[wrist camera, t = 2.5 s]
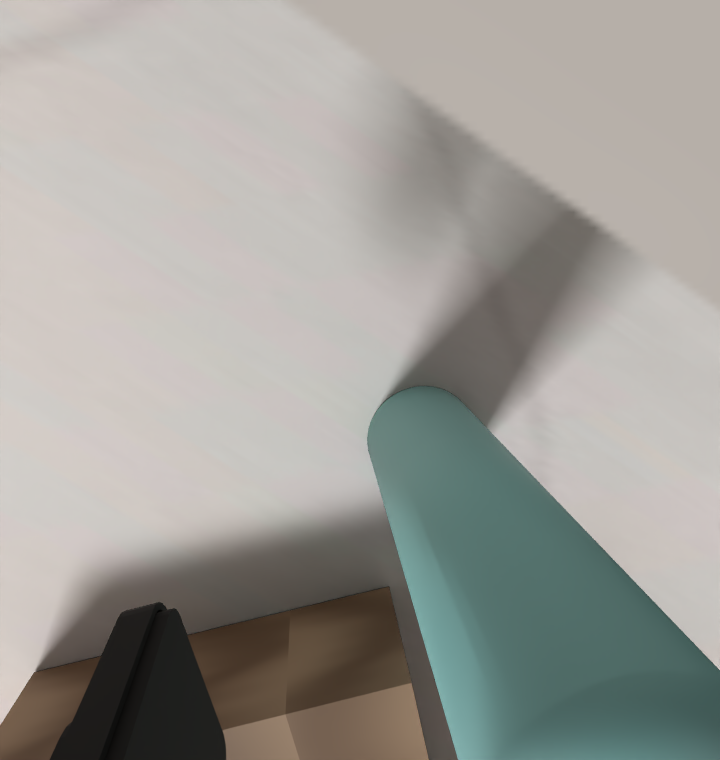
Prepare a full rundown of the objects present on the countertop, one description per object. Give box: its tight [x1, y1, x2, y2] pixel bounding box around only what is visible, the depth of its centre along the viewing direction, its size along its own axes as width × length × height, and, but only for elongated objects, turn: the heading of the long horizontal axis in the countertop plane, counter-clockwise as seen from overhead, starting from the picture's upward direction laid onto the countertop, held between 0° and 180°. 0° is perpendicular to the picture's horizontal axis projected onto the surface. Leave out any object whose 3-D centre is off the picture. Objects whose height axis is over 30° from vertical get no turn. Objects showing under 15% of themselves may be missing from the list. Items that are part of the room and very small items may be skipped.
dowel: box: [367, 386, 720, 760], centre depth 11 cm, size 3×3×11 cm
